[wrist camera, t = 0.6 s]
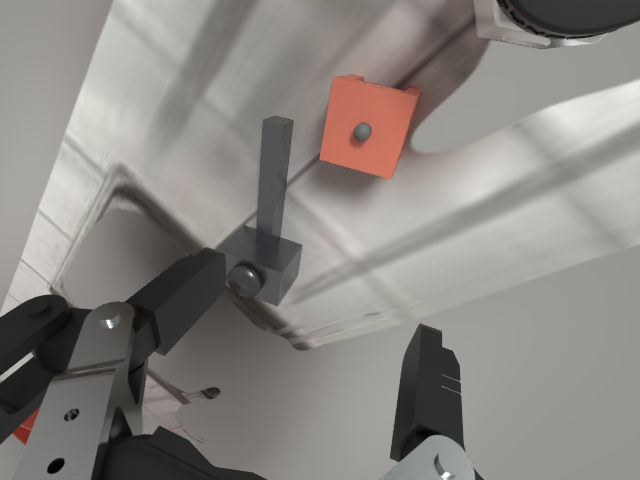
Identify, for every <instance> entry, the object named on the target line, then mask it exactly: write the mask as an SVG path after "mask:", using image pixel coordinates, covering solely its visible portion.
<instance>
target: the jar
mask: <svg viewBox="0 0 640 480" xmlns="http://www.w3.org/2000/svg"><path fill="white" fill-rule="evenodd" d="M473 1H474V10H475V20H476V29H477V36H478V37H480V38H486V39H491V40H496V41H501V42H506V43H512V44H517V45H522V46H527V47H532V48H538V49H547V48H556V47H565V46H575V45H584V44H593V43H596V42H598V41H599V40H600V39H602V38H603V37H604V36H605V35H607V34H608V33H609V32H612V31H615V30H618V29H619V28H622V27H625V26H628V25H631V24H633V23H635V22H638V21H640V0H473Z"/></svg>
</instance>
